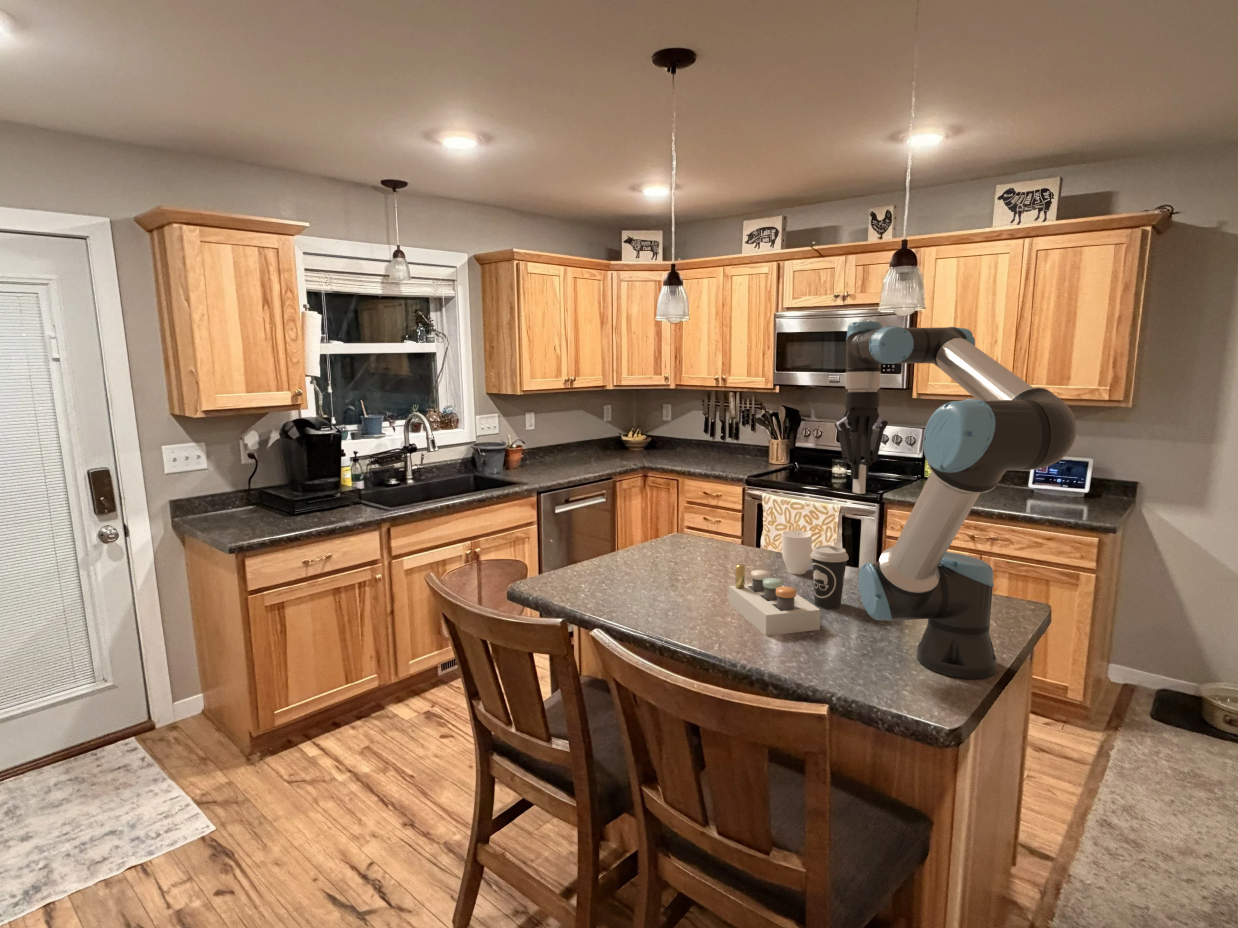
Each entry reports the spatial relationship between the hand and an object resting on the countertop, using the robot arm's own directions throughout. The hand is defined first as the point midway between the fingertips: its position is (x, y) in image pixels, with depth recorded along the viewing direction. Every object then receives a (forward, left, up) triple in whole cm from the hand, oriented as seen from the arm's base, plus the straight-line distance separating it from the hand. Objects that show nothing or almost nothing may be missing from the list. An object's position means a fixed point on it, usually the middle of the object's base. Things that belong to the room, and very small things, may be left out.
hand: (858, 492), depth 161 cm
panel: (+12, +15, -33) cm, 38 cm away
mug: (+45, -10, -33) cm, 57 cm away
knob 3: (+5, +15, -33) cm, 37 cm away
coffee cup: (+16, -3, -33) cm, 37 cm away
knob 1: (+19, +15, -33) cm, 41 cm away
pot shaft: (+21, +20, -28) cm, 40 cm away
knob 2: (+12, +15, -33) cm, 38 cm away
